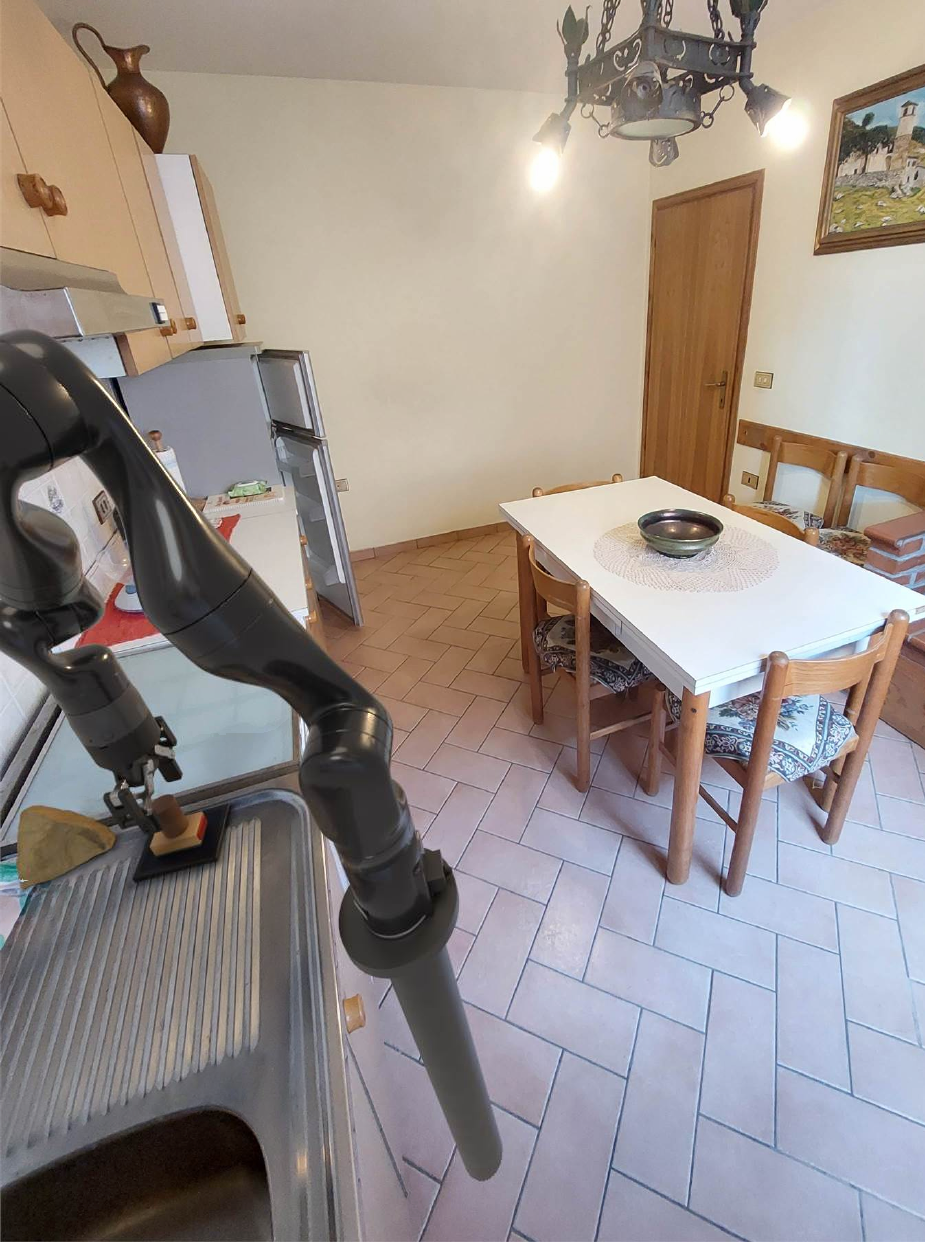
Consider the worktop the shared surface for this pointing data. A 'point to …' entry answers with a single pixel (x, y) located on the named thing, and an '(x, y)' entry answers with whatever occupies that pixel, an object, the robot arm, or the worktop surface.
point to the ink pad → (189, 858)
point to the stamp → (176, 827)
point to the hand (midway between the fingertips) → (166, 804)
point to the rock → (56, 842)
